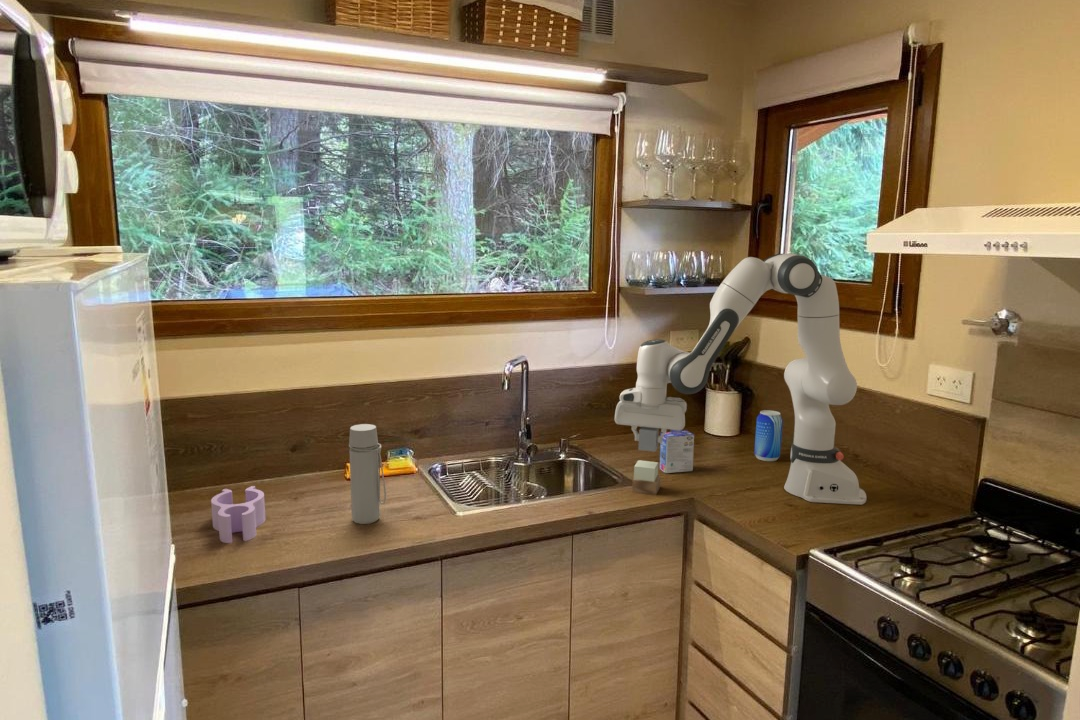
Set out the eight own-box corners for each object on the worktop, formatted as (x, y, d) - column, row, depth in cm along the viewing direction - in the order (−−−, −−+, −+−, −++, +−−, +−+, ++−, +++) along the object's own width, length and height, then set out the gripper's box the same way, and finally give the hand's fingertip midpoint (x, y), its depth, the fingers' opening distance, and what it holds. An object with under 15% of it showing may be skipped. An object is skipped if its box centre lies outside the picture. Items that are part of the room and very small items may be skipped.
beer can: (748, 456, 241) (751, 410, 238) (767, 453, 245) (770, 408, 242) (766, 463, 234) (769, 416, 231) (785, 460, 237) (788, 414, 234)
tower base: (659, 487, 210) (660, 475, 209) (656, 495, 204) (656, 482, 203) (636, 485, 212) (637, 472, 212) (632, 492, 206) (632, 479, 205)
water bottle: (346, 525, 180) (343, 430, 175) (358, 513, 187) (355, 422, 183) (380, 527, 178) (378, 432, 174) (391, 515, 186) (389, 424, 182)
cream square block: (657, 475, 209) (658, 462, 209) (654, 481, 204) (654, 468, 203) (637, 472, 211) (638, 460, 211) (633, 479, 206) (634, 466, 205)
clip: (265, 539, 171) (263, 512, 170) (209, 546, 167) (207, 519, 166) (265, 509, 190) (264, 484, 188) (215, 515, 185) (213, 490, 184)
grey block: (657, 446, 207) (658, 427, 206) (655, 451, 202) (656, 431, 201) (641, 445, 209) (642, 425, 208) (638, 449, 204) (639, 429, 203)
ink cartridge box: (685, 466, 230) (687, 423, 227) (693, 471, 224) (696, 427, 222) (658, 468, 227) (660, 425, 225) (665, 474, 222) (667, 429, 219)
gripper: (688, 396, 203) (685, 442, 205) (618, 390, 209) (616, 435, 211) (686, 400, 197) (683, 448, 199) (614, 394, 203) (612, 440, 205)
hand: (648, 441), depth 205 cm, fingers closed on grey block, 5 cm apart
